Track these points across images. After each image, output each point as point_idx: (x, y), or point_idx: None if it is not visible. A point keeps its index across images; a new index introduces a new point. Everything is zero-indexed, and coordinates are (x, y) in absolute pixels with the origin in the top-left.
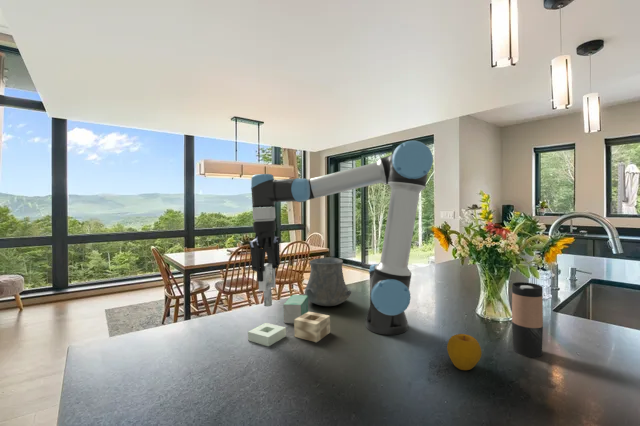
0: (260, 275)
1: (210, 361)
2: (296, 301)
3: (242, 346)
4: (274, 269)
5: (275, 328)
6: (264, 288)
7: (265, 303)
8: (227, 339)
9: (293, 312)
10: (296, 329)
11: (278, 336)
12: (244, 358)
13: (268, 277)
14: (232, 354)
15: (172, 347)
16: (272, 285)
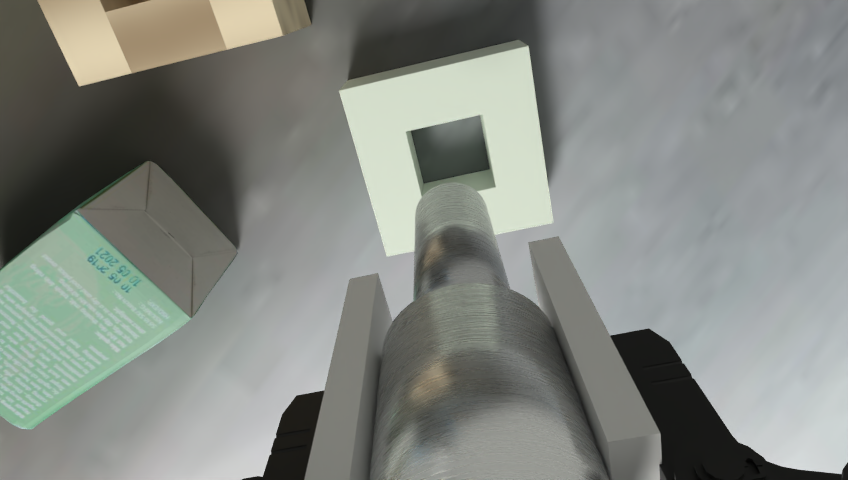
0: (708, 400)
1: (829, 135)
2: (68, 297)
3: (612, 161)
4: (314, 477)
5: (402, 130)
6: (566, 261)
7: (490, 220)
8: (603, 293)
9: (159, 233)
10: (293, 9)
11: (421, 65)
12: (710, 18)
13: (519, 342)
14: (712, 117)
15: (810, 395)
16: (383, 312)
